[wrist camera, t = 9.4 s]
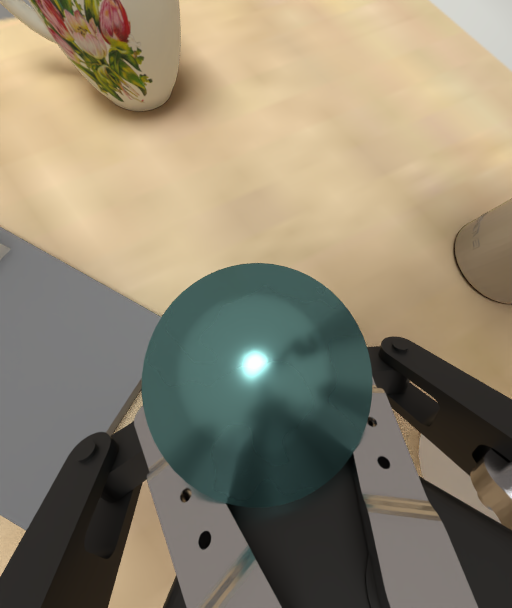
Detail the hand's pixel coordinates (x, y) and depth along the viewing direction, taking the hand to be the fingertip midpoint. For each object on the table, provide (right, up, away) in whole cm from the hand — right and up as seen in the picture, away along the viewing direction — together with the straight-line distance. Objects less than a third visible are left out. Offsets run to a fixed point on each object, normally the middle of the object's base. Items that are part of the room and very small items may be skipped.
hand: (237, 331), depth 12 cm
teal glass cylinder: (0, -3, +5) cm, 6 cm away
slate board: (-17, -2, +4) cm, 17 cm away
